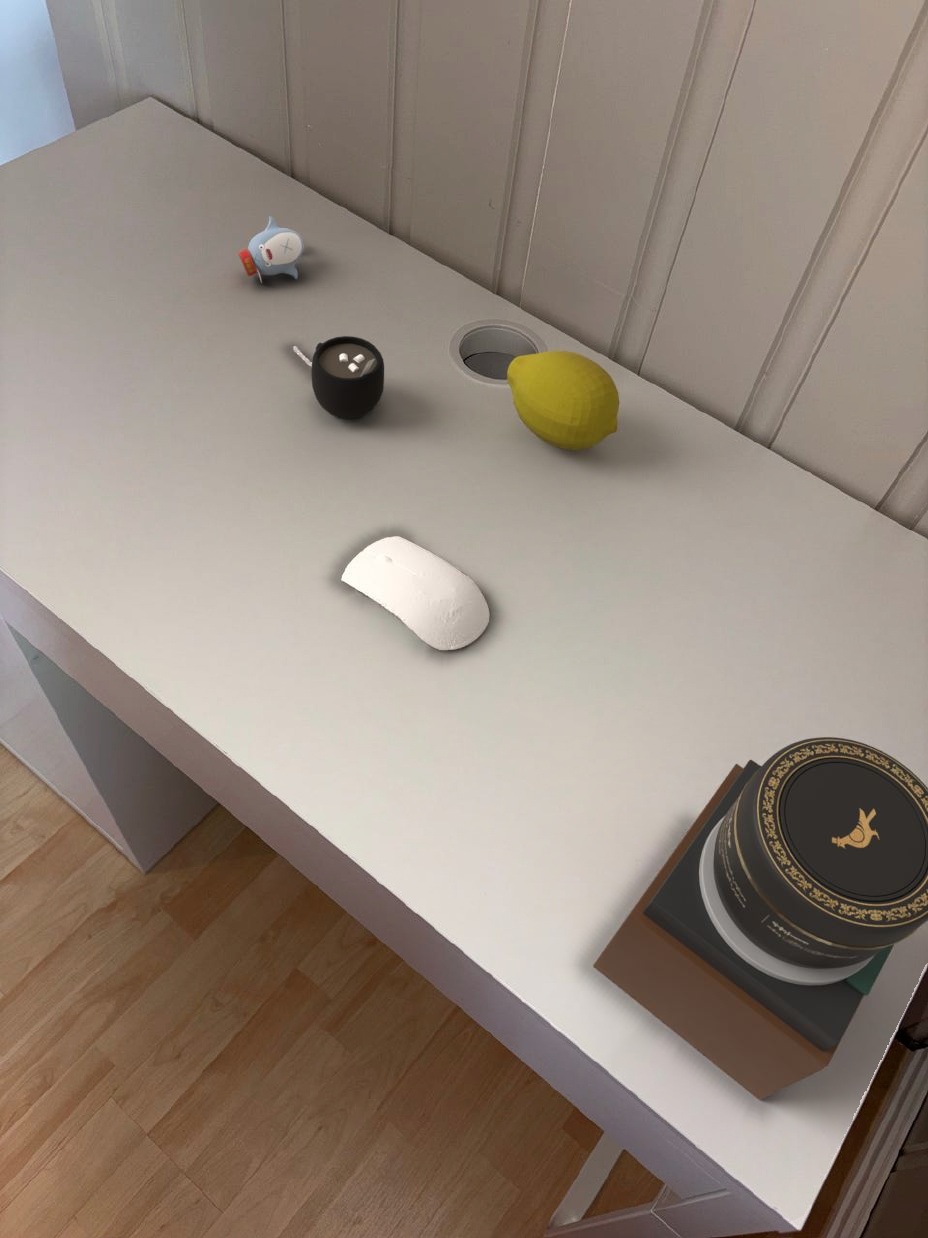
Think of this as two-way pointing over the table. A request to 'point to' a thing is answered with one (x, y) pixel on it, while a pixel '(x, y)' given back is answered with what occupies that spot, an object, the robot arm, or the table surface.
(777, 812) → the jar
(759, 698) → the table surface
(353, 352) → the mug
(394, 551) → the computer mouse
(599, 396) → the lemon
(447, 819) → the table surface
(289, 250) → the figurine
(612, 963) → the scale
